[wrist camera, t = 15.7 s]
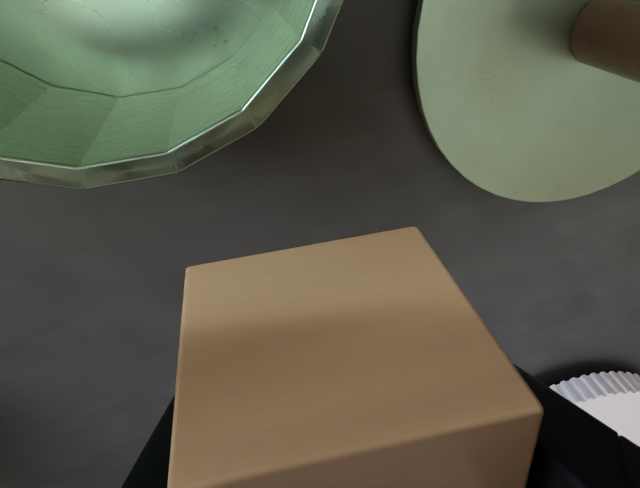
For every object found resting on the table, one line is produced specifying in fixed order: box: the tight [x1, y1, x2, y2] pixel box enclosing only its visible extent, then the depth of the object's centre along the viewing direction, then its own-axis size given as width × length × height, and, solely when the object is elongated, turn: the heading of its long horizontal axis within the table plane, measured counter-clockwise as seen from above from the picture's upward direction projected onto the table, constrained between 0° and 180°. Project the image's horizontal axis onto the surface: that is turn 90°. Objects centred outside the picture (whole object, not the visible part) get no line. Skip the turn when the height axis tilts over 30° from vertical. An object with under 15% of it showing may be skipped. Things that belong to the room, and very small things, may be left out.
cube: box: [167, 226, 544, 488], centre depth 8 cm, size 4×4×4 cm
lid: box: [412, 0, 640, 202], centre depth 16 cm, size 14×14×6 cm
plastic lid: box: [549, 371, 640, 447], centre depth 32 cm, size 14×14×2 cm
